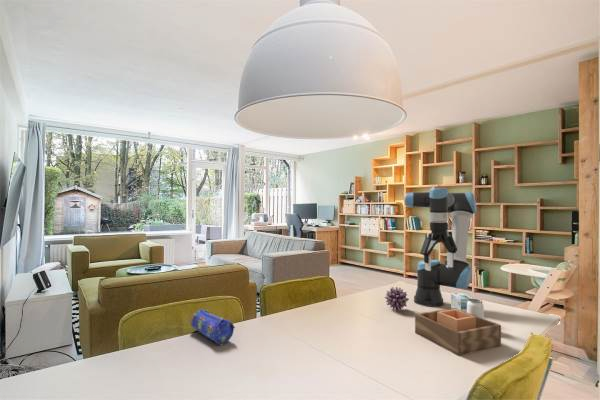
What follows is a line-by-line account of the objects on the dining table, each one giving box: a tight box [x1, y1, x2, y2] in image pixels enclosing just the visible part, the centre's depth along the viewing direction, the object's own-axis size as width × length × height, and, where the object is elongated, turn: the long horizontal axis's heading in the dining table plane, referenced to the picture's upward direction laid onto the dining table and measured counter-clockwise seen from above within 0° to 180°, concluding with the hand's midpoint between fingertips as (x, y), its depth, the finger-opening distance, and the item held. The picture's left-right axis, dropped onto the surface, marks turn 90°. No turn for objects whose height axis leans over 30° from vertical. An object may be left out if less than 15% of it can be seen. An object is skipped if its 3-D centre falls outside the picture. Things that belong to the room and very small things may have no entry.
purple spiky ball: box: [384, 286, 410, 311], centre depth 166 cm, size 12×12×12 cm
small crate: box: [437, 309, 476, 332], centre depth 130 cm, size 10×10×9 cm
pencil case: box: [190, 308, 236, 346], centre depth 131 cm, size 22×9×10 cm, turn 44°
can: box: [467, 298, 485, 319], centre depth 142 cm, size 6×6×12 cm
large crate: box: [414, 308, 502, 357], centre depth 130 cm, size 22×22×8 cm
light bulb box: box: [450, 292, 474, 313], centre depth 154 cm, size 11×7×11 cm, turn 179°
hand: (439, 268), depth 146 cm, fingers open, 13 cm apart
